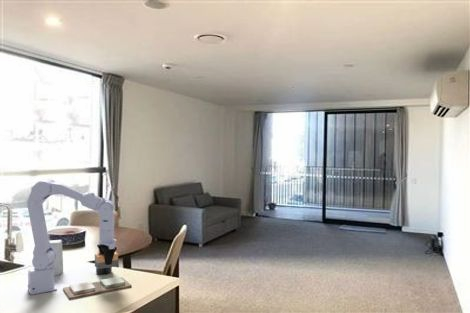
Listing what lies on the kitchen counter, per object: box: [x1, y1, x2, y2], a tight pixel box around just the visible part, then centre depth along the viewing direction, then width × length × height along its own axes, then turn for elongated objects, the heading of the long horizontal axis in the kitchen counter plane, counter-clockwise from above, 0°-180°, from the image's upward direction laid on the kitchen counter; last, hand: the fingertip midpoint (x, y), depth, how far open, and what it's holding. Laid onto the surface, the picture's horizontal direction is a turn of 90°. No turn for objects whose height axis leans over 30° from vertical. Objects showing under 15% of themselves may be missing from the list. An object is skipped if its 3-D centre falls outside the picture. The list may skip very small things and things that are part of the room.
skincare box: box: [49, 239, 64, 276], centre depth 173 cm, size 8×6×15 cm
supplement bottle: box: [95, 250, 113, 276], centre depth 175 cm, size 7×7×12 cm
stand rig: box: [62, 276, 133, 300], centre depth 155 cm, size 24×12×2 cm, turn 125°
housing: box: [94, 251, 119, 269], centre depth 157 cm, size 5×8×5 cm, turn 125°
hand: (106, 262), depth 157 cm, fingers closed on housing, 5 cm apart
